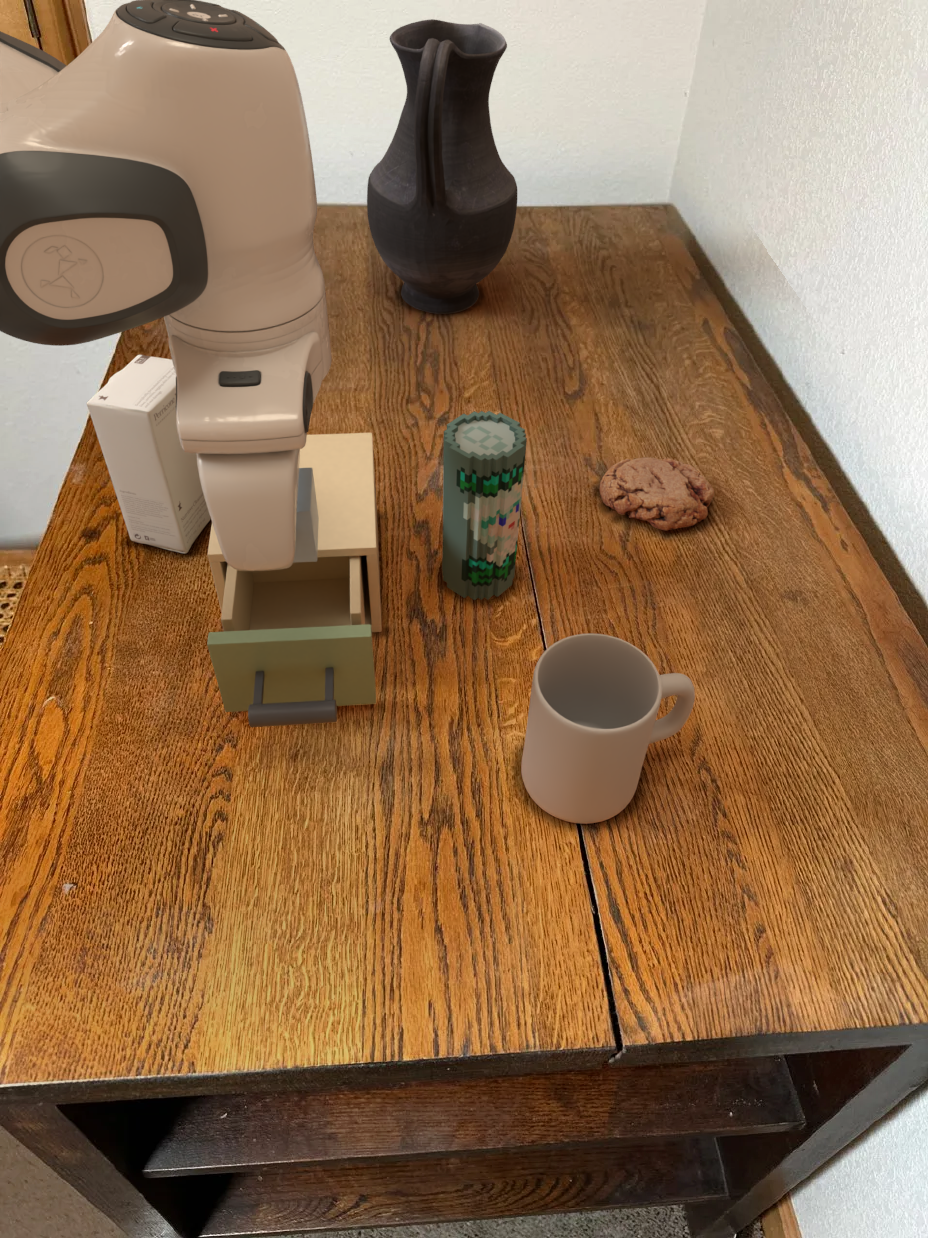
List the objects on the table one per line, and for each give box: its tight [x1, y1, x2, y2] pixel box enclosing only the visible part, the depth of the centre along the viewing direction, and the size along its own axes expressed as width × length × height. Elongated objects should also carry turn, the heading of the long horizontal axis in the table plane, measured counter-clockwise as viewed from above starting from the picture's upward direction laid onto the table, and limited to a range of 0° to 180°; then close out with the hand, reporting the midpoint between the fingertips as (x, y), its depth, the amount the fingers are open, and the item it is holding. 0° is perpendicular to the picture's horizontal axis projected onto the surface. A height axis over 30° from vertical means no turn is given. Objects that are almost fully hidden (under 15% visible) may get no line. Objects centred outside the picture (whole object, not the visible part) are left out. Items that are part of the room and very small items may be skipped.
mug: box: [520, 632, 696, 825], centre depth 65 cm, size 12×8×11 cm
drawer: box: [206, 555, 377, 728], centre depth 71 cm, size 18×11×8 cm, turn 5°
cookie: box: [599, 456, 715, 531], centre depth 89 cm, size 10×11×3 cm
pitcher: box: [366, 18, 518, 315], centre depth 104 cm, size 17×21×30 cm
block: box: [293, 468, 319, 563], centre depth 62 cm, size 4×4×4 cm
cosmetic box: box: [86, 354, 211, 554], centre depth 81 cm, size 8×6×15 cm
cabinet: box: [207, 432, 383, 633], centre depth 78 cm, size 15×13×10 cm
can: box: [441, 410, 528, 601], centre depth 77 cm, size 6×6×15 cm
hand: (281, 523), depth 63 cm, fingers closed on block, 4 cm apart
